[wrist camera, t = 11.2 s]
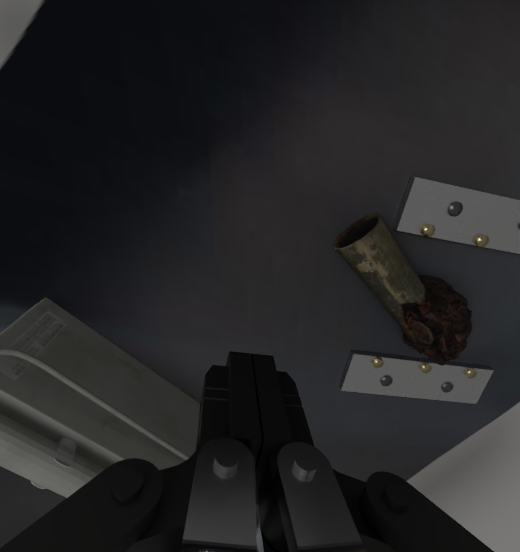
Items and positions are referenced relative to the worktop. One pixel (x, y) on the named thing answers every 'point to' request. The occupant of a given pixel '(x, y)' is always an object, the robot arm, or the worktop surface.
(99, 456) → the geiger counter
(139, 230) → the worktop surface
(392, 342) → the worktop surface
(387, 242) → the cylinder with dark lump
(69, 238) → the worktop surface
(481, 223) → the hinge leaves
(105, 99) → the worktop surface
